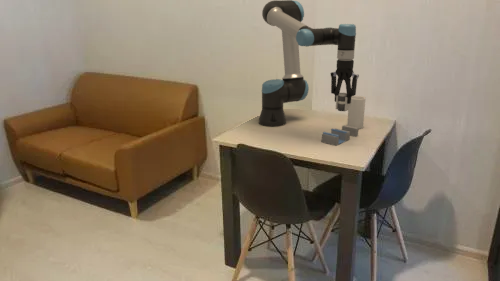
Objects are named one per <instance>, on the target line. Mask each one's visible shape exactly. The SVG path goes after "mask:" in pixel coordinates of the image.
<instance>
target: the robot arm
mask: <svg viewBox="0 0 500 281" xmlns="http://www.w3.org/2000/svg"><path fill="white" fill-rule="evenodd" d="M261 11H262V12H261V15H262V19H263V20H264V21H265V23H266V24H268V25H269V26H272V27H277V29H280V30H281V38H282V51H283V52H282V53H283V54H282V55H283V66H284V67H283V69H284V75H283V77H282V79H279V78H276V79H269V80H266V81H264V82H263V83H262V85H261V111H260V115H259V118H258V124H259V125H261V126H264V127H279V126H285V125H286V124H287V118H286V115H285V112H284V104H286V103H292V102H294V103H295V102H300V101H303V100H305V99H306V97H307V96H308V94H309V83H308V81H307V80H306V79H304V76H303V74H301V62H300V60H301V59H300V47H311V46H312V47H314V46H315V47H316V46H329V45H332V46H337V54H336V59H337V60H336V69H335V71H333V72H330V78H331V82H330V83H331V84H330V89H331V90H330V93H331V94H333V95H334V103H335V110H338V99H339V93H341V92H340V91H341V88H342V84H343V81H344V83H345V89H346V93H347V96H346V97H345V111H344V112H346V111H347V112H348V110H349V104H350V103H351V97H352V96H357V95H356V94H357V85H358V84H357V83H358V79H359V77H360V75H359V74H356V73H355V71H354V64H355V63H354V61H355V60H354V59H355V46H356V35H357V27H356V24H353V23H341V24H339V25H338V28H336V27H323V28H312V27H310V26H309V25H307V24H305V23H303V20H304V18H305V10H304V7H303V5H302V3H300V1H297V0H270V1H268V2H267V3H266V4H265V5H264V6H263V9H262V10H261ZM299 46H300V47H299ZM351 78H352V79H351Z"/></svg>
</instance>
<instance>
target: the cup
mask: <svg viewBox="0 0 500 281" xmlns="http://www.w3.org/2000/svg"><path fill="white" fill-rule="evenodd" d="M365 107H366V97H365V96H363V95H355V96H352V97H351V103H350V104H349V110H347V120H346V123H347V124H346V126H351V127H356V128H359V129H358V130H361V129H363V128H364V121H365V109H366V108H365Z"/></svg>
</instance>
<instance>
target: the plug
mask: <svg viewBox="0 0 500 281" xmlns="http://www.w3.org/2000/svg"><path fill="white" fill-rule="evenodd" d="M346 96H347V92H340V93H339V99H338V109H337V111H338V112H346V111H345V97H346Z"/></svg>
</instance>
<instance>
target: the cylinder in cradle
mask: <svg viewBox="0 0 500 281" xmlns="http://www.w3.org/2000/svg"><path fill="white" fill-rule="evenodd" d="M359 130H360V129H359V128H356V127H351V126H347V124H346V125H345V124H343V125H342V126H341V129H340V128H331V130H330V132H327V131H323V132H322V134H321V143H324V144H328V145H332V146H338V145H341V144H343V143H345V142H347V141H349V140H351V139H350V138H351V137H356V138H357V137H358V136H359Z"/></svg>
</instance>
